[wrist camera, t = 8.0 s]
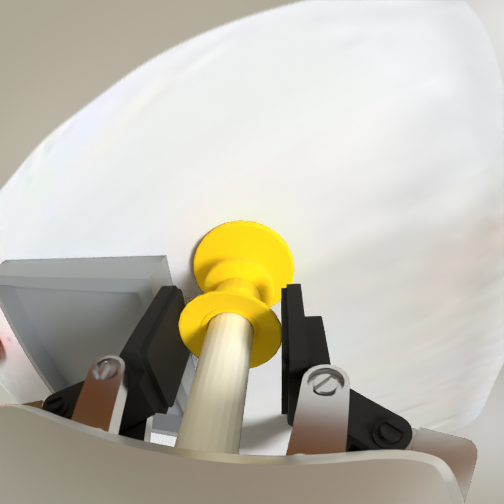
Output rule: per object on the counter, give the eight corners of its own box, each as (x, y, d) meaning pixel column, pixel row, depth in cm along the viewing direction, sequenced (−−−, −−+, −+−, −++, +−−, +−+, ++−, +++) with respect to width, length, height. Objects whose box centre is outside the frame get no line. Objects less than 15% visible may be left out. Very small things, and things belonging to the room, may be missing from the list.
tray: (210, 417, 22) (205, 440, 19) (72, 391, 23) (63, 407, 21) (165, 255, 15) (148, 278, 13) (5, 260, 17) (-14, 274, 14)
